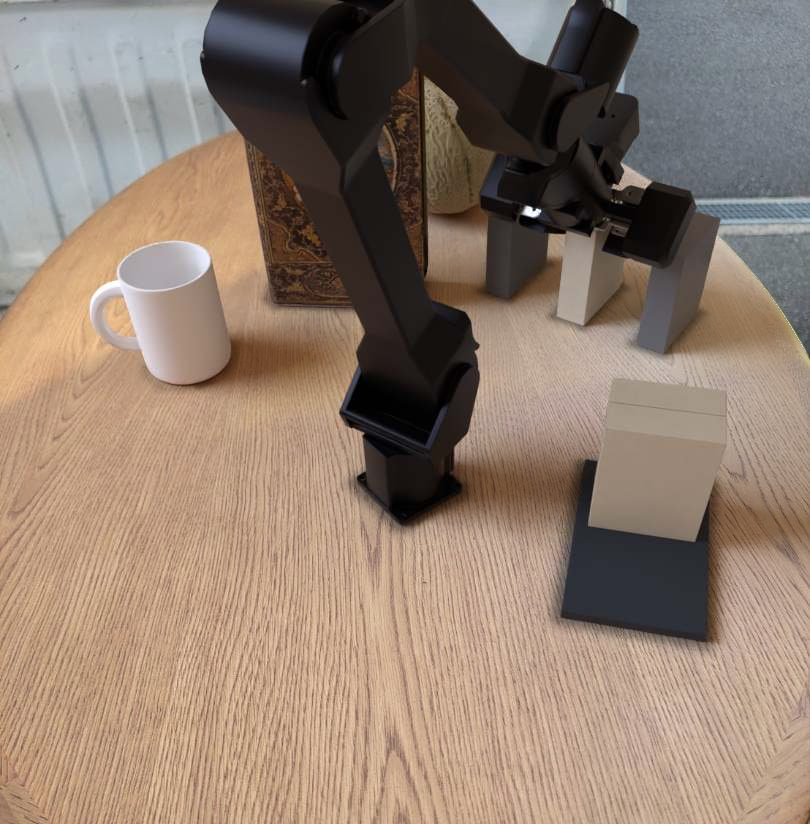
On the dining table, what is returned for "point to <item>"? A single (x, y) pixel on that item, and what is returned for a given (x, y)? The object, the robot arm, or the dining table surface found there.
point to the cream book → (587, 276)
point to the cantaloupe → (450, 157)
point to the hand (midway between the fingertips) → (603, 235)
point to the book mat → (636, 577)
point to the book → (294, 230)
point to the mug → (169, 311)
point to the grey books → (667, 288)
